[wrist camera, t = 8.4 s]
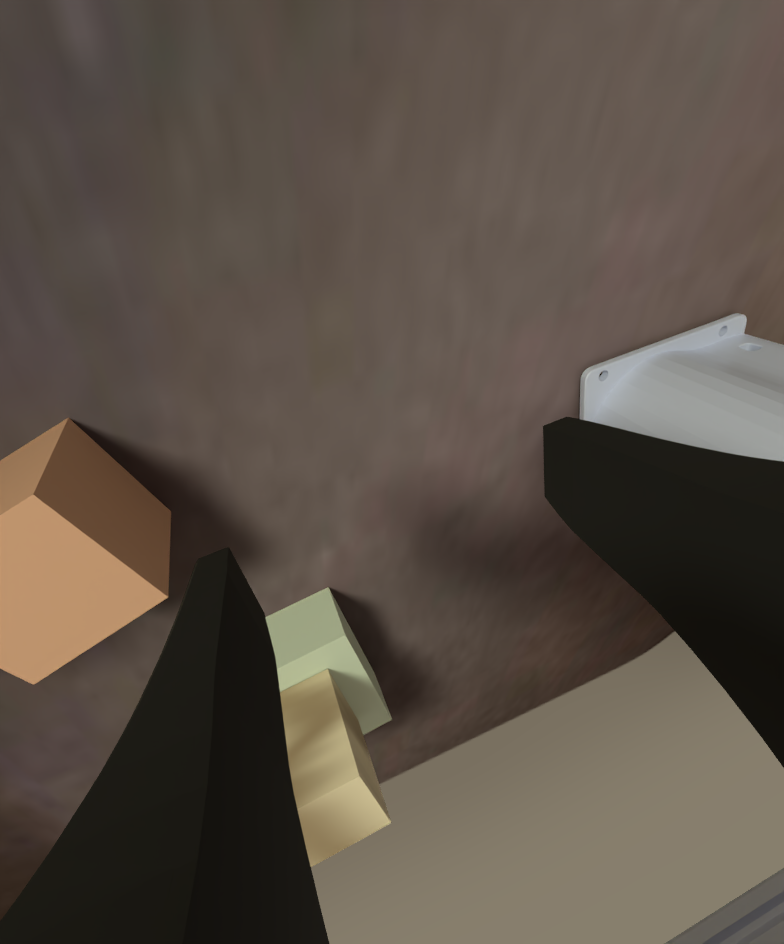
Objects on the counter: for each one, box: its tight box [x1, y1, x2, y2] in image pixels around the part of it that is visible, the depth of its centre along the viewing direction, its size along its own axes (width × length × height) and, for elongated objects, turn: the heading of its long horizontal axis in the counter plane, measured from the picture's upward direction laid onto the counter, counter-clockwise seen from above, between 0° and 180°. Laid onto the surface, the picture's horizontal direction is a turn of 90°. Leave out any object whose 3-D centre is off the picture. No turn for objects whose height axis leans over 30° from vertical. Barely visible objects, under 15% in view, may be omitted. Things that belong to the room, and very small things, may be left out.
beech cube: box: [280, 669, 391, 867], centre depth 22 cm, size 5×5×5 cm
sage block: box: [265, 587, 392, 735], centre depth 25 cm, size 8×8×4 cm
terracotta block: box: [0, 418, 171, 685], centre depth 16 cm, size 5×5×5 cm
